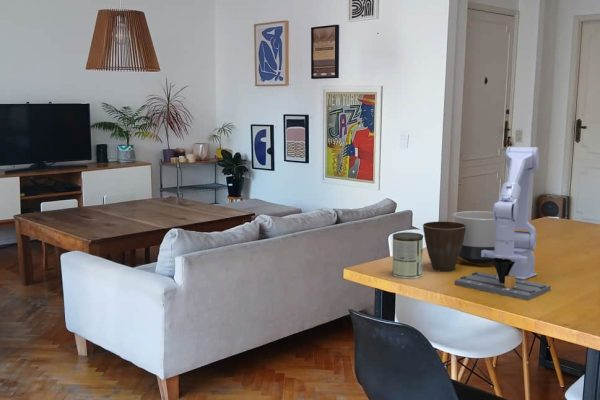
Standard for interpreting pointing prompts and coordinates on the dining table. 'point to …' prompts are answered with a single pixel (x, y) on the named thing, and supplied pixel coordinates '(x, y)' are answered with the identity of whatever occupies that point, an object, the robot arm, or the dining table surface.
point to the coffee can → (407, 255)
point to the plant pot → (444, 243)
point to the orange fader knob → (510, 281)
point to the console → (502, 286)
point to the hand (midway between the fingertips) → (502, 282)
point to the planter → (476, 235)
